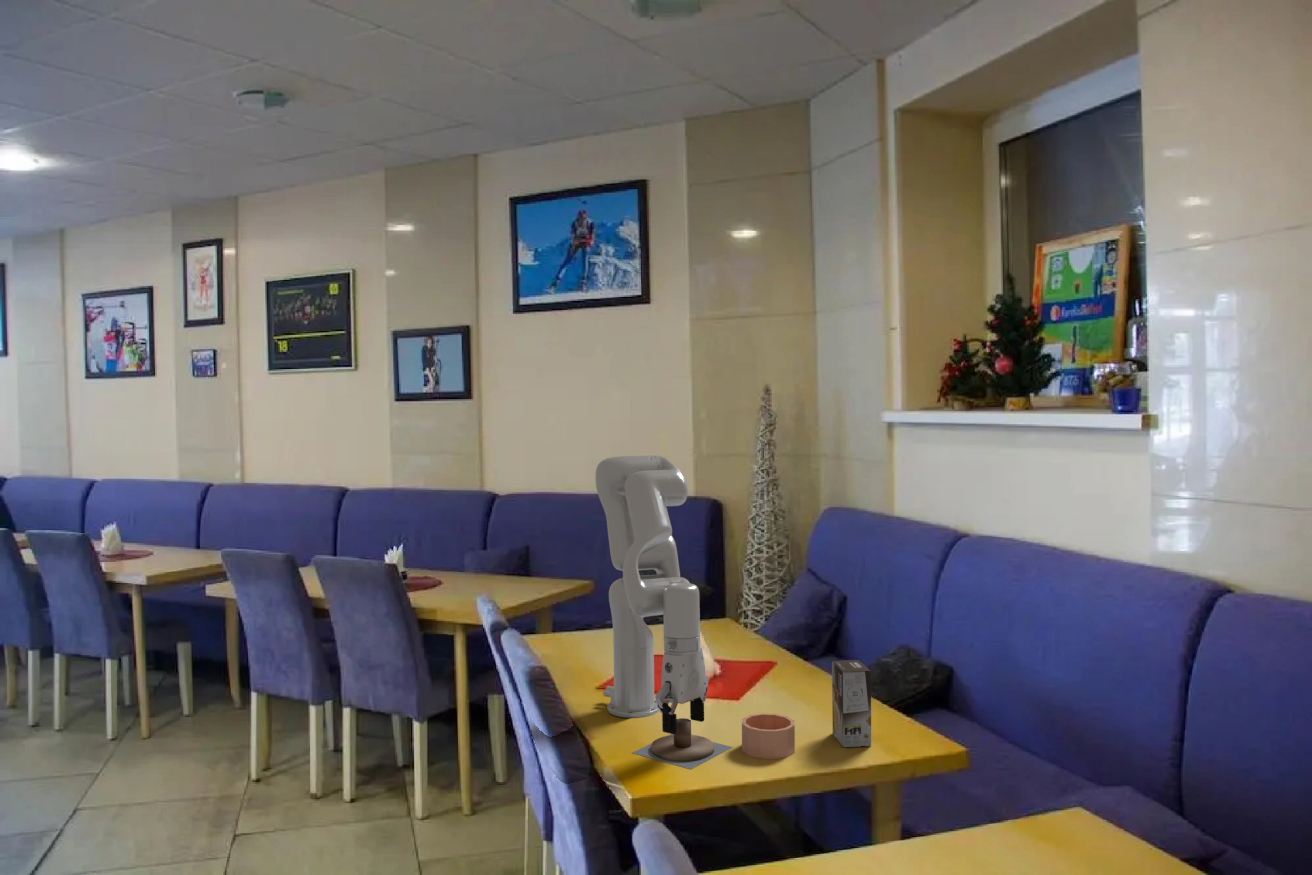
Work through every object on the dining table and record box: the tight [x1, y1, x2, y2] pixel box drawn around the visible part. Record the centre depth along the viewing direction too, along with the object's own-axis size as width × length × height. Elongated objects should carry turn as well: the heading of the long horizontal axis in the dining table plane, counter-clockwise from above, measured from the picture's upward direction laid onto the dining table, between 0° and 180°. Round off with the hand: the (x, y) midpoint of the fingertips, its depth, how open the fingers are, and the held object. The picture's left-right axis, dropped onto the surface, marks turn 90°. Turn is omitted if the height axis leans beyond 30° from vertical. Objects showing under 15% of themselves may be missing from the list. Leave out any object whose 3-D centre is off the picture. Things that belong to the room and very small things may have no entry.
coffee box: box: [831, 659, 872, 748], centre depth 201 cm, size 9×6×16 cm
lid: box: [650, 718, 714, 762], centre depth 195 cm, size 13×13×6 cm
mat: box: [631, 733, 733, 770], centre depth 195 cm, size 15×15×1 cm
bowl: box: [741, 712, 796, 760], centre depth 195 cm, size 11×11×6 cm
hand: (683, 726), depth 195 cm, fingers open, 9 cm apart
